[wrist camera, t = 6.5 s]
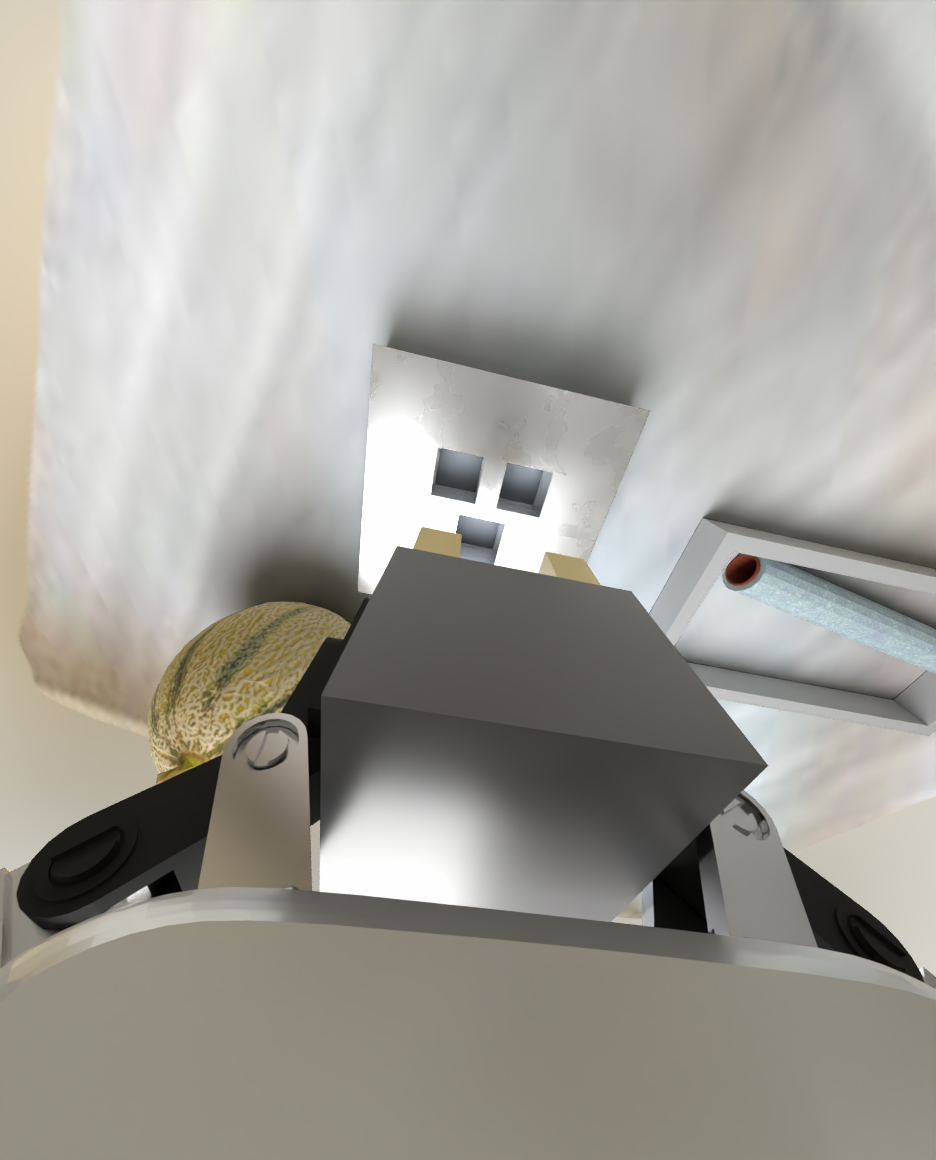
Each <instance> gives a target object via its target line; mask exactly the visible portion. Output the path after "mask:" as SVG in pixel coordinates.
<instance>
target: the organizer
mask: <svg viewBox="0 0 936 1160" xmlns="http://www.w3.org/2000/svg"><path fill="white" fill-rule="evenodd" d="M734 552H738V553H742V554H747V555H752V556H756V557H761V558H766V559H770V560H775V561H780V562H785V563H789V564H794V565H799V566H803V567H808V568H813V569H817V570H822V571H827V572H832V573H836V574H841V575H846V576H850V577H855V578H860V579H864V580H869V581H874V582H879V583H883V584H888V585H893V586H897V587H902V588H907V589H911V590H916V591H921V592H926V593H930V594H935V595H936V569H933V568H928V567H923V566H919V565H914V564H910V563H905V562H901V561H896V560H892V559H887V558H882V557H878V556H873V555H869V554H864V553H860V552H855V551H851V550H846V549H841V548H837V547H832V546H828V545H823V544H819V543H814V542H809V541H805V540H800V539H796V538H791V537H787V536H782V535H778V534H773V533H768V532H764V531H759V530H755V529H750V528H746V527H741V526H737V525H732V524H727V523H723V522H718V521H714V520H709V519H705V518H702V520H701V522H700V524H699V525H698V527H697V529H696V531H695V533H694V534H693V536H692V538H691V540H690V542H689V543H688V545H687V547H686V549H685V550H684V552H683V554H682V556H681V558H680V559H679V561H678V563H677V565H676V567H675V568H674V570H673V572H672V574H671V576H670V577H669V579H668V581H667V583H666V585H665V586H664V588H663V590H662V592H661V594H660V595H659V597H658V599H657V601H656V603H655V604H654V606H653V608H652V610H651V612H650V613H649V615H650V616H651V617H652V619H653V620H654V621H655V622H656V624H657V625H658V626H659V627H660V629H661V630H662V631H663V633H664V634H665V635H666V636H667V638H668V639H669V640H670V641H671V643H672V644H673V645H674V646H675V644H676V643H677V641H678V640H679V638H680V636H681V635H682V633H683V632H684V630H685V628H686V627H687V625H688V624H689V622H690V621H691V619H692V617H693V616H694V614H695V613H696V611H697V610H698V608H699V606H700V605H701V603H702V602H703V600H704V599H705V597H706V595H707V594H708V592H709V591H710V589H711V588H712V586H713V584H714V583H715V581H716V580H717V578H718V576H719V575H720V573H721V572H722V570H723V569H724V567H725V565H726V564H727V562H728V561H729V559H730V558H731V556H732V554H733V553H734ZM687 663H688V664H689V666H690V667H691V668H692V669H693V671H694V672H695V673H696V675H697V676H698V677H699V678H700V680H701V681H702V682H703V683H704V685H705V686H706V687H707V689H708V690H709V691H710V692H711V694H712V695H713V696H714V697H715V699H721V700H727V701H732V702H738V703H744V704H749V705H755V706H761V707H766V708H772V709H778V710H783V711H789V712H795V713H800V714H806V715H812V716H817V717H823V718H829V719H834V720H840V721H846V722H851V723H857V724H863V725H868V726H874V727H880V728H885V729H891V730H897V731H903V732H908V733H914V734H920V735H925V736H929V735H931V734H932V733H933V732H935V731H936V674H934V673H932V672H930V671H926V672H925V673H924V674H923V675H922V676H920V677H919V678H918V679H917V680H916V681H915V682H914V683H912V684H911V685H910V686H909V687H908V688H907V689H906V690H904V691H903V692H902V693H901V694H900V695H899V696H898V697H897V698H895V699H894V700H890V699H885V698H880V697H874V696H869V695H863V694H858V693H852V692H847V691H841V690H836V689H831V688H825V687H820V686H814V685H809V684H803V683H798V682H792V681H787V680H782V679H776V678H771V677H765V676H760V675H754V674H749V673H743V672H738V671H733V670H727V669H722V668H716V667H711V666H705V665H700V664H694V663H689V662H687Z"/></svg>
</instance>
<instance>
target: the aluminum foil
mask: <svg viewBox="0 0 936 1160" xmlns="http://www.w3.org/2000/svg"><path fill="white" fill-rule="evenodd" d="M722 576H723V583H724V584H725V585H726V587H727V588H729V589H731V590H733V591H736V592H738V593H740V594H743V595H745V596H748V597H750V598H753V599H755V600H757V601H760V602H762V603H765V604H767V605H770V606H772V607H774V608H777V609H779V610H782V611H784V612H786V613H789V614H791V615H794V616H796V617H799V618H801V619H803V620H806V621H808V622H811V623H813V624H816V625H818V626H820V627H823V628H825V629H828V630H830V631H833V632H835V633H837V634H840V635H842V636H845V637H847V638H850V639H852V640H854V641H857V642H859V643H862V644H864V645H867V646H869V647H871V648H874V649H876V650H879V651H881V652H884V653H886V654H888V655H891V656H893V657H896V658H898V659H900V660H903V661H905V662H908V663H910V664H913V665H915V666H917V667H920V668H922V669H925V670H927V671H930V672H932V673H934V674H936V629H934V628H932V627H929V626H927V625H925V624H923V623H920V622H918V621H916V620H914V619H911V618H909V617H907V616H905V615H902V614H900V613H898V612H895V611H893V610H891V609H889V608H886V607H884V606H882V605H880V604H877V603H875V602H873V601H871V600H868V599H866V598H864V597H862V596H859V595H857V594H855V593H852V592H850V591H848V590H846V589H843V588H841V587H839V586H837V585H834V584H832V583H830V582H828V581H825V580H823V579H821V578H818V577H816V576H814V575H812V574H809V573H807V572H805V571H803V570H800V569H798V568H796V567H794V566H791V565H789V564H787V563H785V562H780V561H775V560H770V559H766V558H761V557H756V556H752V555H747V554H742V553H741V554H740V555H739V556H737V557H735V558H734V559H733V560H732V561H731V562H730V563H729V565H728V566H727V568H726V571H725V572H724V573H723V575H722Z"/></svg>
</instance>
